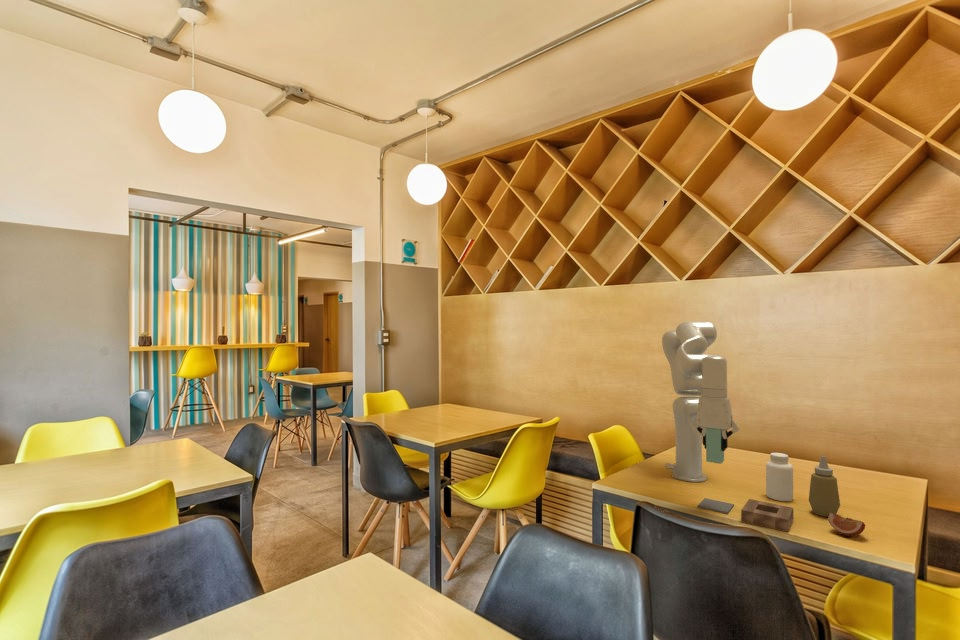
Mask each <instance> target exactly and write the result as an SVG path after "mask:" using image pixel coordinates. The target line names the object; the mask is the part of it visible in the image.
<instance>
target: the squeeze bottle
mask: <svg viewBox="0 0 960 640" xmlns="http://www.w3.org/2000/svg"><path fill="white" fill-rule="evenodd" d="M808 492H809V493H808V502H809V505H810V507H811V511H812V512H813V513H814V514H816V515H818V516H821V517H826V518H827V517H828V516H829V513H833V514H836V515H838V511H839V509H840V507H841V501H840V495H839V487H838V480H837V477H835V476H834V470H833V468H831V467H829V464H828V460H827V457H826V456H822V455H821V456H820V459H819V464H818V466H815V467H814V472H813V473H811V475H810V483H809V491H808Z"/></svg>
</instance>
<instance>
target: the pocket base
mask: <svg viewBox="0 0 960 640" xmlns="http://www.w3.org/2000/svg"><path fill="white" fill-rule="evenodd" d="M740 514H741V515H740V516H741V517H740V518H741V522H742V523H747V524H751V525H756V526H761V527H765V528H770V529H774V530H778V531H782V532H787V533H788V532H789V531H790V529H791V526H792V524H793V521H794V507H792V506H787V505H783V504H778V503H772V502H766V501H763V500H758V499H757V500H756V499H752V498H749V499H748V500H747V501H746V503H745V504H744V505H743V507H742V508H741V510H740Z"/></svg>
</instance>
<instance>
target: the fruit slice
mask: <svg viewBox="0 0 960 640" xmlns="http://www.w3.org/2000/svg"><path fill="white" fill-rule="evenodd" d="M827 520H828V521H827V522H828V523H829V525H830V526H831V527H832V529H834V530H835V531H836V532H837V533H839V534H841V535H843V536H845V535H846V537H856V536H859V535H861V534H862V533H863V531H864V530H865V528H866V524H865V523H864V522H863V521H861V520H858V519H853V518H850V517H848V516H847V517H843V516H841V515H839V514H833V513H829V516H828V519H827Z"/></svg>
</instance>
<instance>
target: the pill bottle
mask: <svg viewBox="0 0 960 640" xmlns="http://www.w3.org/2000/svg"><path fill="white" fill-rule="evenodd" d="M793 466H794V465H792V464H791V463H790V462H789V455H788V454H786V453H783V452H782V453H781V452H771V453H770V460H768V461H767V462H766V464H765V467H766V468H765V472H766V473H765V484H766V485H765V495H766V497H768V498H769V499H771V500H775V501H780V502H793V500H794V467H793Z"/></svg>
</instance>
